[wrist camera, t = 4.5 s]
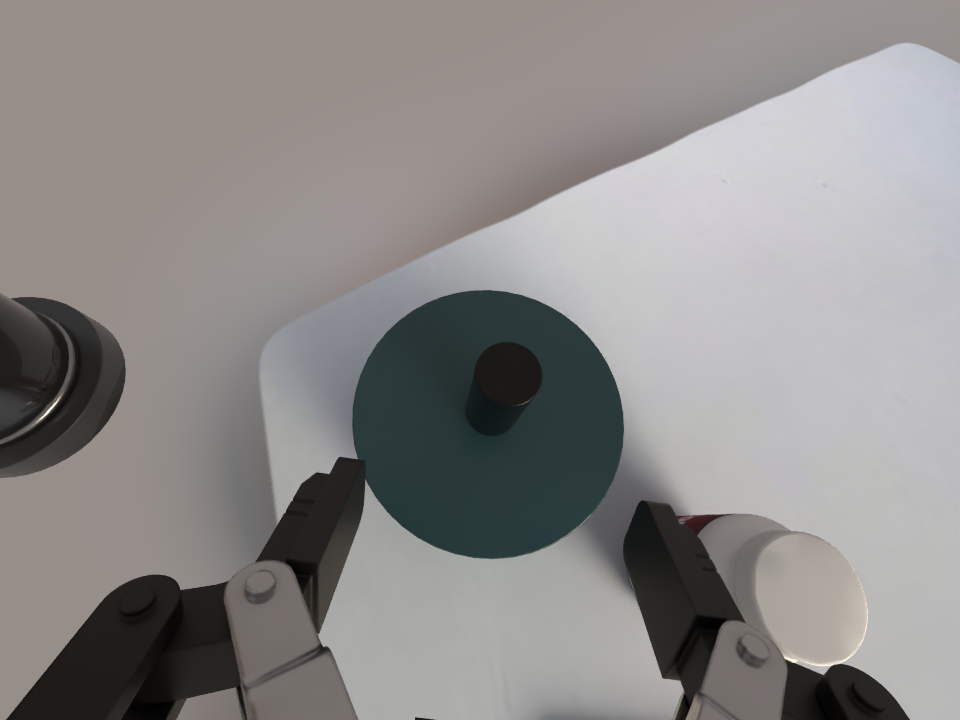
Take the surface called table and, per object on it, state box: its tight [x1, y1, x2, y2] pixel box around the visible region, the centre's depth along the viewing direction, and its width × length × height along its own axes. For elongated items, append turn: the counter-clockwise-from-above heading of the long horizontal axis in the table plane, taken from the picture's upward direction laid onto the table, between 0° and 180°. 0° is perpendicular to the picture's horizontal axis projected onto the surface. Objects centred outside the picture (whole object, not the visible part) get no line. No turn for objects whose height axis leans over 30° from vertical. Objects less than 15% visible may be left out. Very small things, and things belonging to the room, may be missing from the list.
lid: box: [352, 290, 624, 559], centre depth 19 cm, size 13×13×7 cm
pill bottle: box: [628, 514, 868, 666], centre depth 22 cm, size 6×6×11 cm
